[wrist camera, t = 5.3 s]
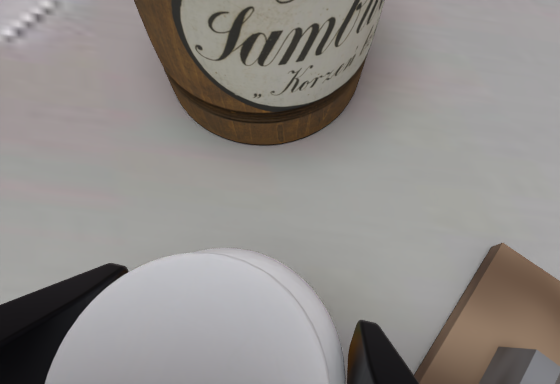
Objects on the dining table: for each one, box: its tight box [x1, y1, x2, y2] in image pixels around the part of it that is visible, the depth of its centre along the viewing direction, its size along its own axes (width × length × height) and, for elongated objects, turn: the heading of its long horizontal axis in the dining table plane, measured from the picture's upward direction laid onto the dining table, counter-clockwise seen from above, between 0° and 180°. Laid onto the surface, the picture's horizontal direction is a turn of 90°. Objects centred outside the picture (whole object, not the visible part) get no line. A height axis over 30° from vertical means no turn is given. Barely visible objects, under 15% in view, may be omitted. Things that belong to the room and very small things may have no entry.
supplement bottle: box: [45, 248, 345, 384], centre depth 9 cm, size 5×5×10 cm
